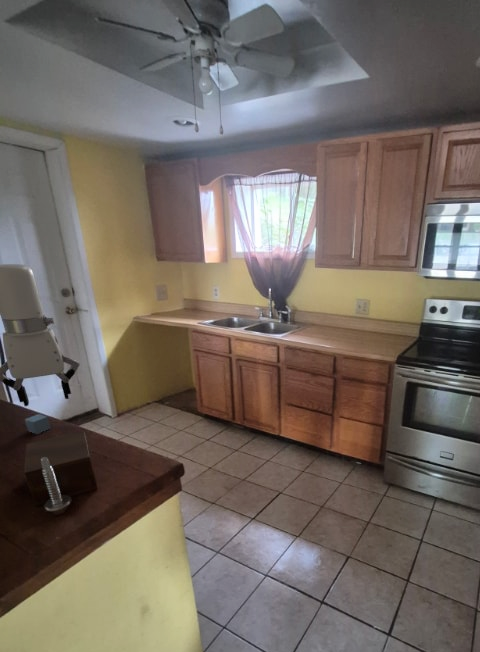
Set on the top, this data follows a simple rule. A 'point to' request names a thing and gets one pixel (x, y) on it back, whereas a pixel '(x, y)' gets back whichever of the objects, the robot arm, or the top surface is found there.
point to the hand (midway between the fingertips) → (47, 400)
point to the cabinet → (60, 466)
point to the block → (37, 423)
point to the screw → (54, 491)
